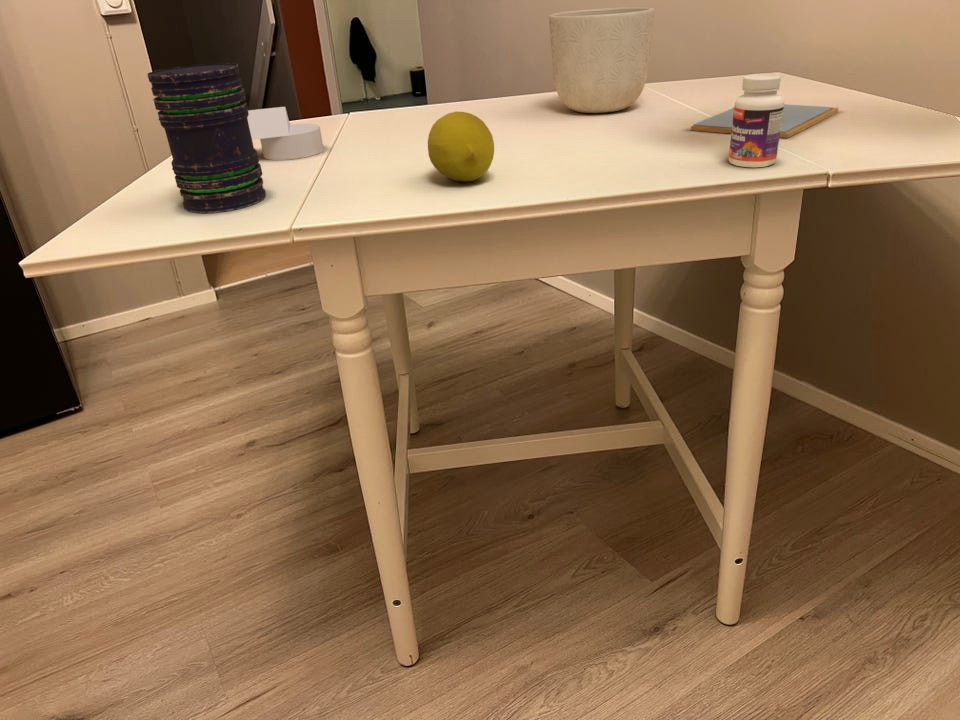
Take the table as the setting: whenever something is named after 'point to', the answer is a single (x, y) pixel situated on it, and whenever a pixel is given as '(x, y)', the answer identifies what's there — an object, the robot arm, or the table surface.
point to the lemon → (460, 146)
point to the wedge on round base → (283, 135)
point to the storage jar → (208, 136)
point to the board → (791, 124)
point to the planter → (601, 57)
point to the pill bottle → (757, 122)
